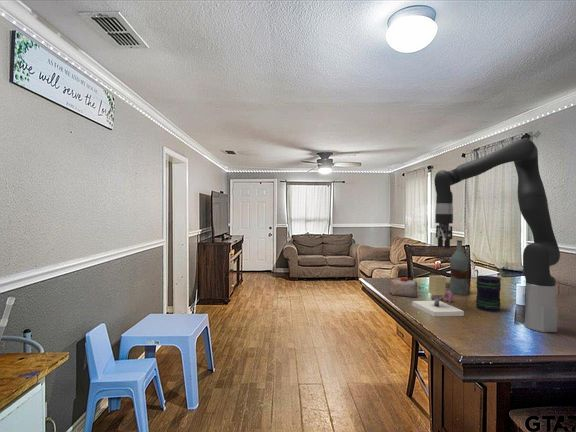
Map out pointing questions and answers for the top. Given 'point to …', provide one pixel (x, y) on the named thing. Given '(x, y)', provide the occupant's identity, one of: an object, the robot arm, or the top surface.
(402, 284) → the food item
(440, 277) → the gold rectangular block
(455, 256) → the bottle
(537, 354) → the top surface
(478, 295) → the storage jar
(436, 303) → the metal post
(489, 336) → the top surface
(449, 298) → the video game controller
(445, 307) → the base board
